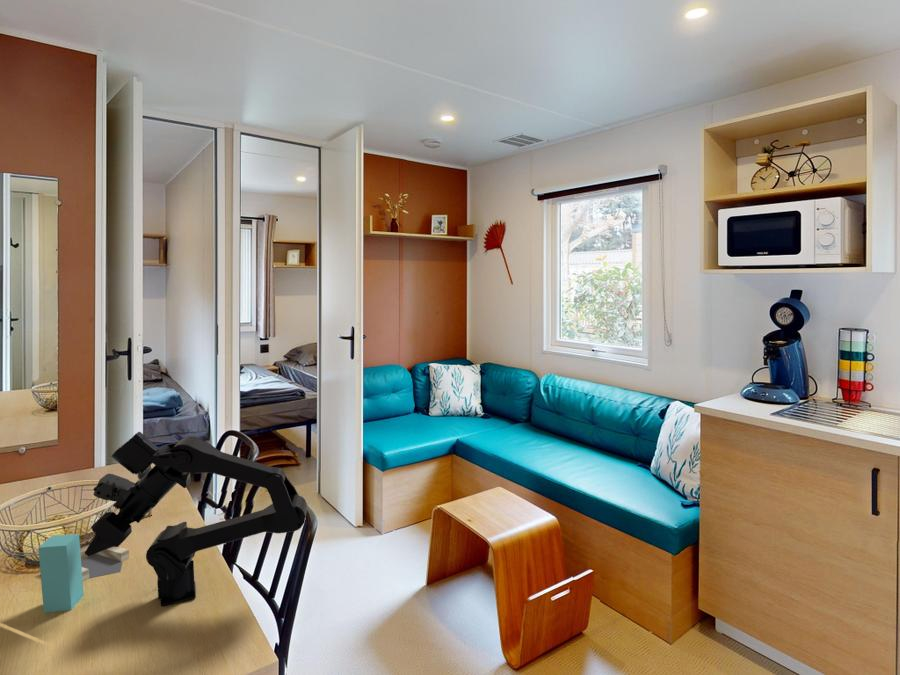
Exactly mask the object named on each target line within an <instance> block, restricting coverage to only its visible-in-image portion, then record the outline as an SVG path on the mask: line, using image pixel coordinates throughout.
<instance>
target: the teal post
mask: <svg viewBox="0 0 900 675" xmlns="http://www.w3.org/2000/svg"><path fill="white" fill-rule="evenodd" d="M80 549H81V542H80V533H74V534H71V533H70V534H57V535H51V536H50V537H49V538H47V540H46V541H44V542H43V543H42V544H40V545H39V546H38V559H39V570H40V571H39V572H40V573H39V574H40V583H41V595H42V606H43V613H51V612H53V613H55V612H64V611H72V610H73V609H74V608H75V606H76V605H78V603H79V602H80V601H81V600H82V598H83V597H84V596H85V595H84V581H83V579H82V566H81V553H80Z"/></svg>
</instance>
